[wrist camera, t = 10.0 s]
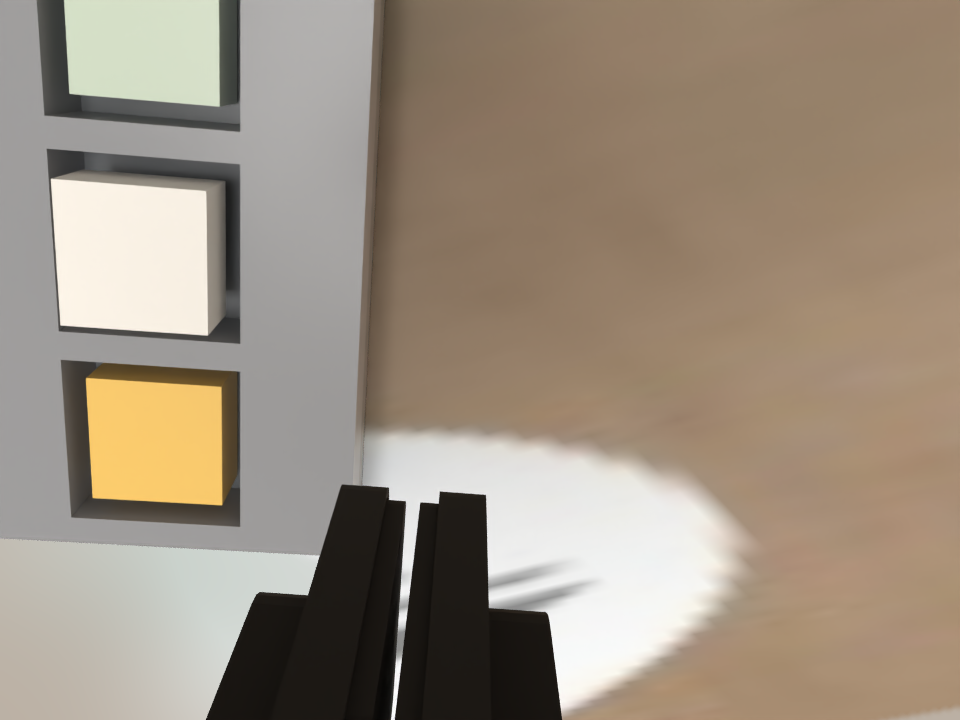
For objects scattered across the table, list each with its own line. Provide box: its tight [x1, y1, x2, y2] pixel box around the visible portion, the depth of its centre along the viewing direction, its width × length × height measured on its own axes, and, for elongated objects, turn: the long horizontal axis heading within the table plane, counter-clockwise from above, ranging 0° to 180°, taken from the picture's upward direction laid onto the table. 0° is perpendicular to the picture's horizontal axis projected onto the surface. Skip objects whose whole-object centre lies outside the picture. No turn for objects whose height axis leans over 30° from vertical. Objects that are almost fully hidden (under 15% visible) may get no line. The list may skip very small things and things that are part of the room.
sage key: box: [64, 0, 237, 107], centre depth 28 cm, size 5×5×2 cm
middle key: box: [51, 169, 226, 336], centre depth 29 cm, size 5×5×2 cm
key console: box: [0, 0, 385, 555], centre depth 31 cm, size 14×22×5 cm, turn 175°
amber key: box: [86, 363, 237, 505], centre depth 32 cm, size 5×5×2 cm
